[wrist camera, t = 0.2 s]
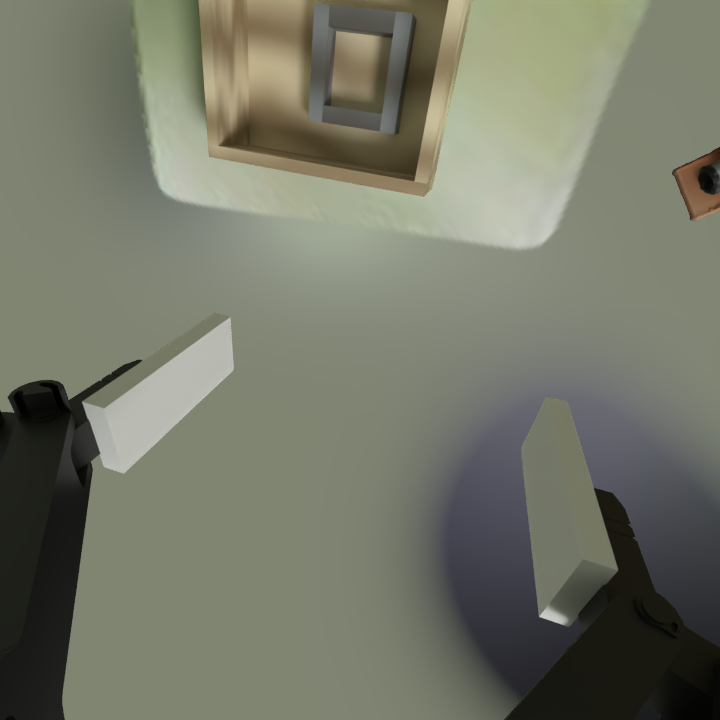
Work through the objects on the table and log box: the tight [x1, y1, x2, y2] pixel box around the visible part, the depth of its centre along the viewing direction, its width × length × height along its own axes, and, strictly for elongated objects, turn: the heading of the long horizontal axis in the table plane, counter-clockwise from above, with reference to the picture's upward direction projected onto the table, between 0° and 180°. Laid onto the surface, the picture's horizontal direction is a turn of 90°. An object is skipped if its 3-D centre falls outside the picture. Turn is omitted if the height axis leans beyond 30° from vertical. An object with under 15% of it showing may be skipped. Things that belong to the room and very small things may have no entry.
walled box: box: [199, 0, 472, 197], centre depth 31 cm, size 18×20×6 cm
